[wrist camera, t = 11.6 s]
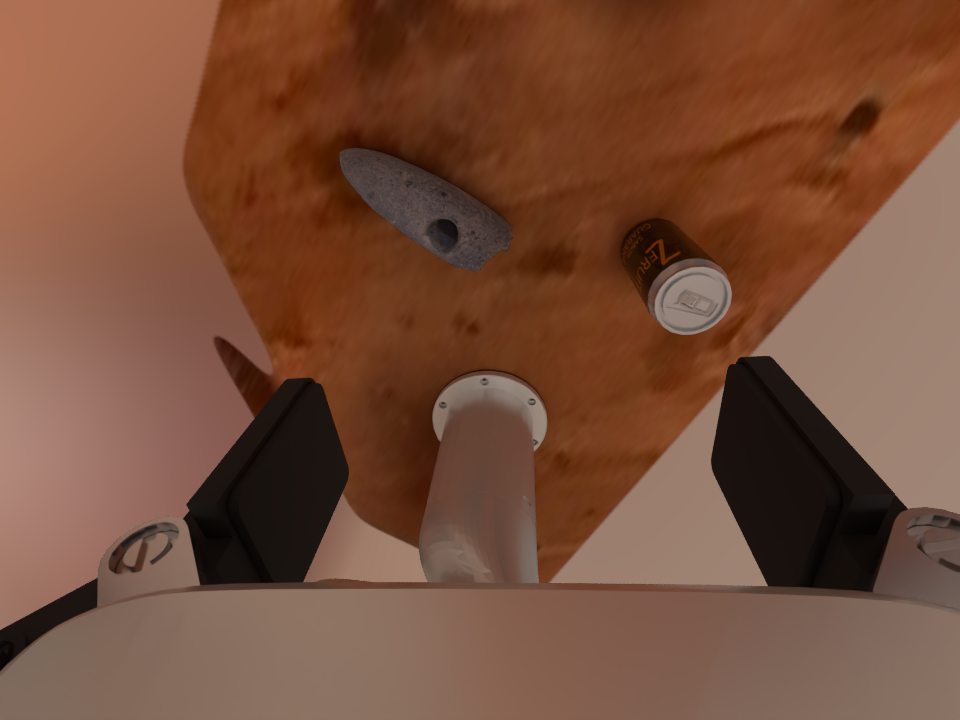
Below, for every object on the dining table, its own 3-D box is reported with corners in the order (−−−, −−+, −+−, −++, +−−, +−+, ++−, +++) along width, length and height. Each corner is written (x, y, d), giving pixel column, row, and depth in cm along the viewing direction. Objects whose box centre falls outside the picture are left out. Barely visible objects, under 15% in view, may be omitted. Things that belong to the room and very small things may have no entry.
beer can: (695, 231, 41) (753, 281, 31) (661, 285, 44) (704, 348, 33) (639, 207, 40) (679, 250, 30) (608, 263, 43) (635, 321, 33)
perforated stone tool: (340, 174, 41) (308, 190, 35) (365, 116, 39) (336, 122, 33) (486, 266, 44) (480, 295, 38) (518, 218, 42) (517, 241, 36)
